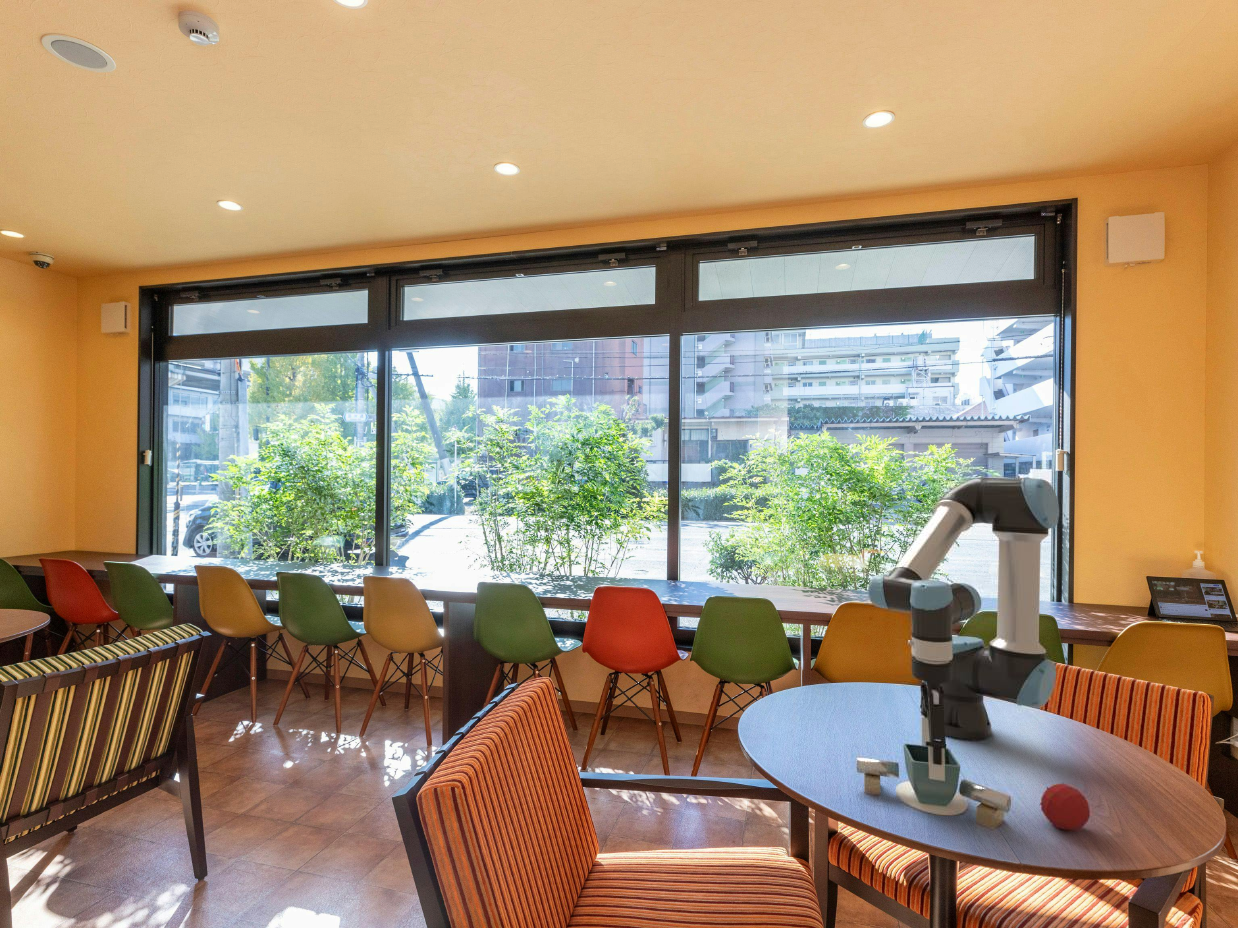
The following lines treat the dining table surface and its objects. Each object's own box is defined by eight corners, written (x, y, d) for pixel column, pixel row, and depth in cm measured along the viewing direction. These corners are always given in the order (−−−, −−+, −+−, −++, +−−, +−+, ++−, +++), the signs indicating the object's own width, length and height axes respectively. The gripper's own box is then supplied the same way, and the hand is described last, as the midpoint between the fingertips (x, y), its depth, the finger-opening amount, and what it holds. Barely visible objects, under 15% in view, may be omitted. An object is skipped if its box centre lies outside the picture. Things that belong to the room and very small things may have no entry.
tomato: (1089, 791, 115) (1052, 764, 122) (1057, 819, 114) (1021, 790, 122) (1105, 819, 117) (1068, 791, 124) (1073, 846, 117) (1038, 817, 124)
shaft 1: (897, 787, 133) (897, 758, 133) (899, 798, 129) (899, 768, 129) (856, 780, 136) (856, 752, 136) (856, 791, 131) (856, 761, 132)
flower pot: (961, 813, 122) (961, 765, 123) (911, 807, 124) (911, 760, 125) (948, 791, 131) (948, 747, 131) (902, 786, 133) (902, 742, 133)
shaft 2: (956, 814, 123) (957, 783, 123) (967, 806, 126) (967, 775, 126) (1002, 833, 117) (1002, 800, 117) (1012, 823, 120) (1013, 791, 120)
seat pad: (938, 780, 137) (938, 778, 137) (983, 812, 124) (983, 810, 124) (882, 784, 134) (882, 782, 134) (922, 818, 121) (922, 815, 121)
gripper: (906, 640, 142) (907, 735, 142) (917, 676, 119) (918, 789, 119) (944, 643, 140) (944, 739, 140) (962, 680, 116) (963, 796, 116)
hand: (932, 763), depth 129 cm, fingers open, 13 cm apart
